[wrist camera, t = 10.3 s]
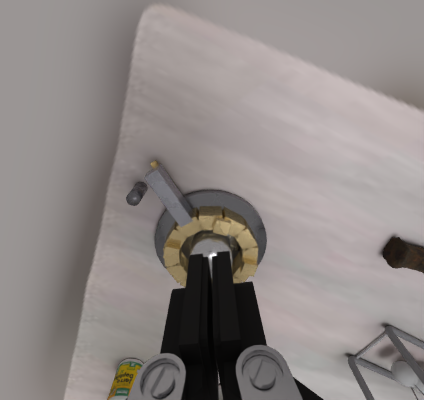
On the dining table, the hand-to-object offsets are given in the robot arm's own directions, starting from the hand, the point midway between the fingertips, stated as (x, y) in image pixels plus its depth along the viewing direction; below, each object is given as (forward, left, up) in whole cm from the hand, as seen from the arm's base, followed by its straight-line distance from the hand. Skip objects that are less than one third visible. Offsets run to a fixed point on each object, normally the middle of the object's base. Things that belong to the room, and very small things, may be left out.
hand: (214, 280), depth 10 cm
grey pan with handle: (-9, -5, -22) cm, 24 cm away
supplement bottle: (-42, -15, -23) cm, 50 cm away
